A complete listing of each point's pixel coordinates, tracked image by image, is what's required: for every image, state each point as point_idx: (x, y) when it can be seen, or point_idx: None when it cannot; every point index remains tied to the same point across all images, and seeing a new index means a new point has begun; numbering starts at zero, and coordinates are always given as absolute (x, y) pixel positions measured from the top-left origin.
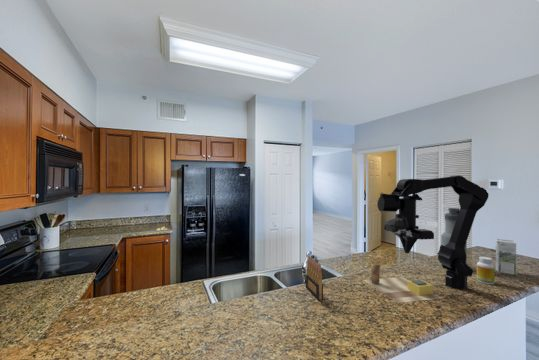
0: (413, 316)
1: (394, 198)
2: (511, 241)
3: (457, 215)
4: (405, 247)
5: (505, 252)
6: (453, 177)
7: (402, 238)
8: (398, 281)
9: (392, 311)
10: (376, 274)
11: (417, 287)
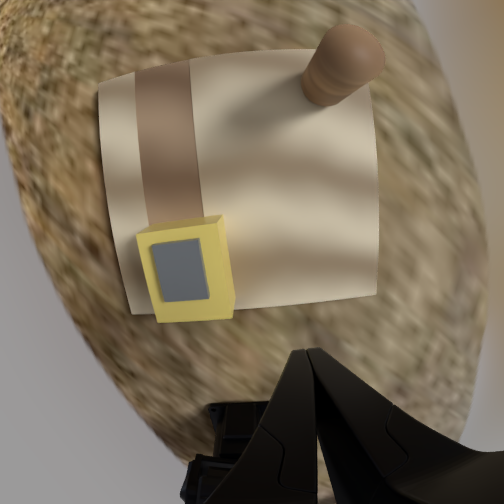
0: (45, 111)
1: None
2: None
3: None
4: (303, 391)
5: None
6: None
7: (396, 497)
8: (326, 234)
9: (79, 55)
10: (310, 62)
11: (147, 231)
